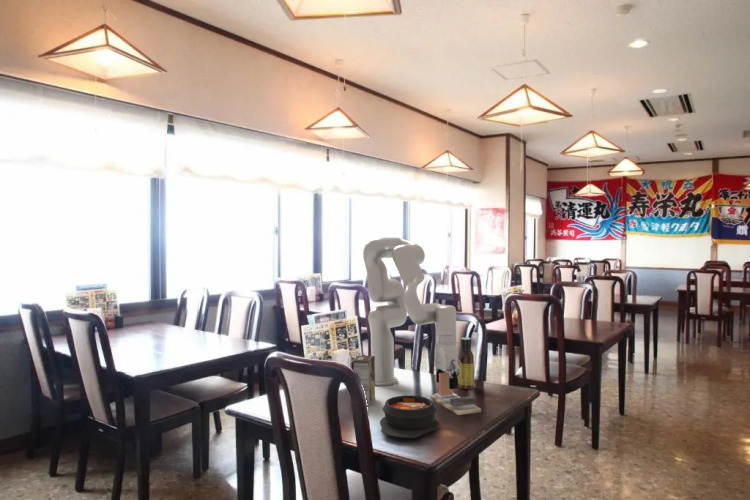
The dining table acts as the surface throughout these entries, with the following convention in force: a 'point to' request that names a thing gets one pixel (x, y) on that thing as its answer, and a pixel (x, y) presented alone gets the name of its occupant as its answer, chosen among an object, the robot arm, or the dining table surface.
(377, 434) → the dining table surface
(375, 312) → the robot arm
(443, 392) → the tan and white stand
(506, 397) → the dining table surface
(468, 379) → the sauce bottle
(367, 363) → the coffee box
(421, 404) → the casserole
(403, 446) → the dining table surface
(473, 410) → the ticket board
